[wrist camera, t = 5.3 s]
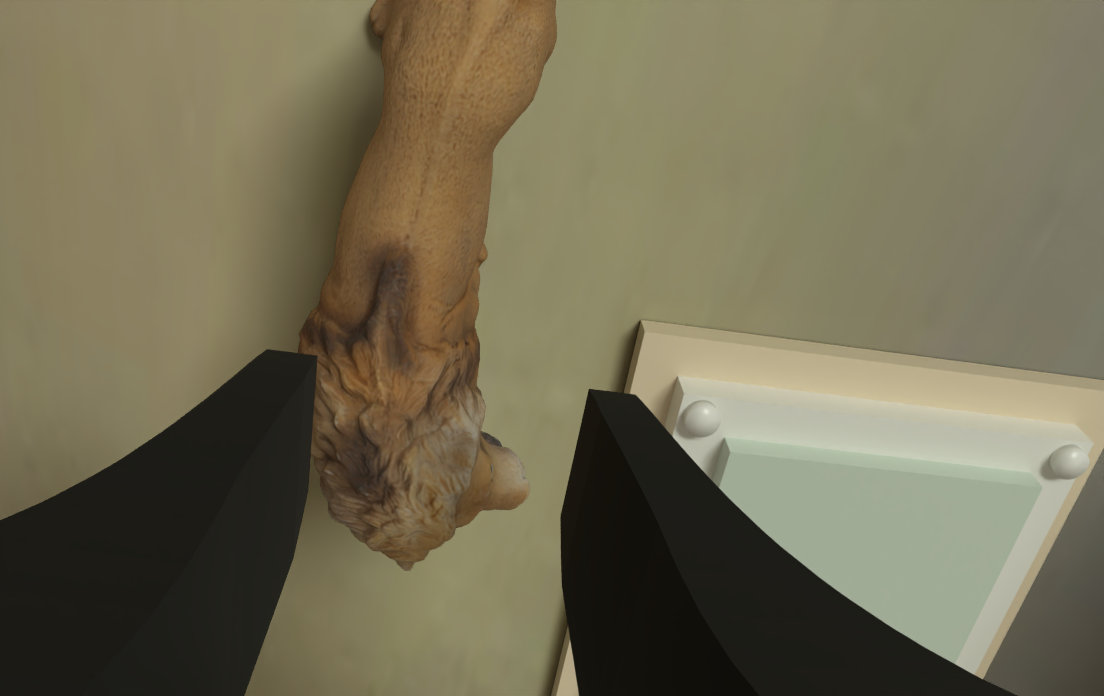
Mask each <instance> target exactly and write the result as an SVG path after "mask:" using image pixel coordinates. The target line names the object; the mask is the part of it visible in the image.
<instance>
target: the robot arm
mask: <svg viewBox="0 0 1104 696" xmlns="http://www.w3.org/2000/svg"><path fill="white" fill-rule="evenodd" d="M317 358H318V356H317V355H309V354H301V353H293V352H284V351H276V350H268V349H267V350H266V351H264V352H263V353H262V354H260V355H259V356H257V357H256V358H255V359H254V360H252V361H251V362H250V363H249V364H248V365H246V366H245V367H244V368H243V369H242V370H240V371H239V372H238V373H237V374H236V375H234V376H233V377H232V378H231V379H230V380H228V381H227V382H226V383H225V384H224V385H222V386H221V387H220V388H219V389H217V390H216V391H215V392H214V393H213V394H211V395H210V396H209V397H208V398H206V399H205V400H204V401H202V402H201V403H200V404H198V405H197V406H196V407H195V408H193V409H192V410H191V411H189V412H188V413H187V414H185V415H184V416H183V417H181V418H180V419H179V420H178V421H176V422H175V423H174V424H172V425H171V426H169V427H168V428H167V429H165V430H164V431H163V432H161V433H160V434H158V435H157V436H155V437H154V438H152V439H151V440H149V441H148V442H146V443H145V444H143V445H142V446H140V447H139V448H137V449H136V450H134V451H133V452H131V453H130V454H128V455H127V456H125V457H124V458H122V459H121V460H119V461H117V462H116V463H114V464H112V465H111V466H109V467H107V468H105V469H104V470H102V471H100V472H99V473H97V474H95V475H93V476H92V477H90V478H88V479H86V480H84V481H82V482H80V483H78V484H76V485H74V486H73V487H71V488H69V489H67V490H65V491H63V492H61V493H59V494H57V495H56V496H54V497H51V498H49V499H47V500H45V501H43V502H41V503H39V504H37V505H35V506H32V507H30V508H28V509H25V510H23V511H21V512H18V513H16V514H14V515H12V516H9V517H7V518H5V519H2V520H0V696H244V695H245V692H246V689H247V686H248V684H249V681H250V678H251V675H252V672H253V670H254V667H255V664H256V661H257V659H258V656H259V653H260V650H261V647H262V645H263V642H264V639H265V636H266V634H267V631H268V628H269V625H270V622H271V620H272V617H273V614H274V611H275V609H276V606H277V603H278V600H279V597H280V594H281V592H282V589H283V586H284V583H285V580H286V578H287V575H288V572H289V569H290V566H291V563H292V560H293V557H294V552H295V548H296V544H297V539H298V535H299V530H300V526H301V521H302V517H303V512H304V507H305V503H306V498H307V493H308V485H309V471H310V457H311V443H312V428H313V414H314V400H315V386H316V372H317ZM561 572H562V589H563V596H564V603H565V609H566V616H567V622H568V629H569V636H570V642H571V648H572V655H573V661H574V667H575V674H576V680H577V686H578V693H579V696H1017V695H1015V694H1013V693H1010V692H1008V691H1006V690H1004V689H1002V688H1000V687H998V686H996V685H993V684H991V683H989V682H987V681H985V680H983V679H981V678H980V677H978V676H976V675H974V674H972V673H970V672H968V671H967V670H965V669H963V668H961V667H959V666H958V665H956V664H954V663H952V662H950V661H949V660H947V659H945V658H943V657H941V656H940V655H938V654H936V653H934V652H932V651H930V650H929V649H927V648H925V647H923V646H922V645H920V644H918V643H917V642H915V641H913V640H912V639H910V638H909V637H907V636H905V635H904V634H902V633H900V632H899V631H897V630H895V629H894V628H892V627H890V626H889V625H887V624H886V623H884V622H883V621H881V620H880V619H878V618H877V617H875V616H874V615H872V614H871V613H869V612H868V611H866V610H865V609H863V608H862V607H860V606H859V605H857V604H856V603H854V602H853V601H851V600H850V599H848V598H847V597H846V596H844V595H843V594H841V593H840V592H839V591H837V590H836V589H834V588H833V587H832V586H830V585H829V584H828V583H826V582H825V581H824V580H822V579H821V578H820V577H818V576H817V575H816V574H815V573H813V572H812V571H811V570H810V569H808V568H807V567H806V566H805V565H803V564H802V563H801V562H800V561H798V560H797V559H796V558H795V557H793V556H792V555H791V554H790V553H788V552H787V551H786V550H785V549H783V548H782V547H781V546H780V545H779V544H778V543H776V542H775V541H774V540H773V539H772V538H771V537H769V536H768V535H767V534H766V533H765V532H764V531H763V530H762V529H761V528H760V527H759V526H757V525H756V524H755V523H754V522H753V521H752V520H751V519H750V518H749V517H748V516H747V515H746V514H745V513H744V512H743V511H742V510H741V509H740V508H739V507H738V506H736V505H735V504H734V503H733V502H732V501H731V500H730V499H729V498H728V497H727V496H726V495H725V494H724V492H723V491H722V490H721V489H720V488H719V487H718V486H717V485H716V484H715V483H714V482H713V481H712V480H711V479H710V478H709V477H708V476H707V475H706V474H705V473H704V471H703V470H702V469H701V468H700V467H699V466H698V465H697V464H696V463H695V462H694V460H693V459H692V458H691V457H690V456H689V455H688V454H687V453H686V451H685V450H684V449H683V448H682V447H681V446H680V445H679V443H678V442H677V441H676V440H675V439H674V438H673V436H672V435H671V434H670V433H669V432H668V431H667V430H666V428H665V427H664V426H663V425H662V424H661V422H660V421H659V420H658V419H657V418H656V417H655V415H654V414H653V413H652V412H651V411H650V410H649V409H648V407H647V406H646V405H645V404H644V403H643V402H642V401H641V400H640V399H639V398H638V396H637V395H634V394H626V393H618V392H610V391H602V390H594V389H589V391H588V396H587V400H586V405H585V409H584V414H583V418H582V423H581V427H580V432H579V436H578V441H577V445H576V450H575V454H574V459H573V463H572V468H571V472H570V477H569V481H568V486H567V490H566V495H565V499H564V504H563V508H562V513H561Z"/></svg>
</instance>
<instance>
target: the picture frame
mask: <svg viewBox="0 0 1104 696" xmlns="http://www.w3.org/2000/svg"><path fill="white" fill-rule="evenodd" d="M624 393H626V394H634V395H637V396H638V398H639V399H640V400H641V401H642V402H643V403H644V404H645V405H646V406H647V407H648V409H649V410H650V411H651V412H652V413H653V414H654V415H655V417H656V418H657V419H658V420H659V421H660V422H661V424H662V425H663V426H664V427H665V428H666V430H667V431H668V432H669V433H670V434H671V435H672V436H673V438H674V439H675V440H676V441H677V442H678V443H679V445H680V446H681V447H682V448H683V449H684V450H685V451H686V453H687V454H688V455H689V456H690V457H691V458H692V459H693V460H694V462H695V463H696V464H697V465H698V466H699V467H700V468H701V469H702V470H703V471H704V473H705V474H706V475H707V476H708V477H709V478H710V479H711V480H712V481H713V482H714V483H715V484H716V485H717V486H718V487H719V488H720V489H721V490H722V491H723V492H724V494H725V495H726V496H727V497H728V498H729V499H730V500H731V501H732V502H733V503H734V504H735V505H736V506H738V507H739V508H740V509H741V510H742V511H743V512H744V513H745V514H746V515H747V516H748V517H749V518H750V519H751V520H752V521H753V522H754V523H755V524H756V525H757V526H759V527H760V528H761V529H762V530H763V531H764V532H765V533H766V534H767V535H768V536H769V537H771V538H772V539H773V540H774V541H775V542H776V543H778V544H779V545H780V546H781V547H782V548H783V549H785V550H786V551H787V552H788V553H790V554H791V555H792V556H793V557H795V558H796V559H797V560H798V561H800V562H801V563H802V564H803V565H805V566H806V567H807V568H808V569H810V570H811V571H812V572H813V573H815V574H816V575H817V576H818V577H820V578H821V579H822V580H824V581H825V582H826V583H828V584H829V585H830V586H832V587H833V588H834V589H836V590H837V591H839V592H840V593H841V594H843V595H844V596H846V597H847V598H848V599H850V600H851V601H853V602H854V603H856V604H857V605H859V606H860V607H862V608H863V609H865V610H866V611H868V612H869V613H871V614H872V615H874V616H875V617H877V618H878V619H880V620H881V621H883V622H884V623H886V624H887V625H889V626H890V627H892V628H894V629H895V630H897V631H899V632H900V633H902V634H904V635H905V636H907V637H909V638H910V639H912V640H913V641H915V642H917V643H918V644H920V645H922V646H923V647H925V648H927V649H929V650H930V651H932V652H934V653H936V654H938V655H940V656H941V657H943V658H945V659H947V660H949V661H950V662H952V663H954V664H956V665H958V666H959V667H961V668H963V669H965V670H967V671H968V672H970V673H972V674H974V675H976V676H978V677H980V678H981V679H983V678H984V676H985V674H986V672H987V670H988V668H989V666H990V664H991V662H992V660H993V658H994V657H995V655H996V653H997V651H998V649H999V647H1000V645H1001V643H1002V641H1003V639H1004V637H1005V635H1006V634H1007V632H1008V630H1009V628H1010V626H1011V624H1012V622H1013V620H1014V618H1015V616H1016V614H1017V613H1018V611H1019V609H1020V607H1021V605H1022V603H1023V601H1024V599H1025V597H1026V595H1027V593H1028V591H1029V590H1030V588H1031V586H1032V584H1033V582H1034V580H1035V578H1036V576H1037V574H1038V572H1039V570H1040V569H1041V567H1042V565H1043V563H1044V561H1045V559H1046V557H1047V555H1048V553H1049V551H1050V549H1051V547H1052V546H1053V544H1054V542H1055V540H1056V538H1057V536H1058V534H1059V532H1060V530H1061V528H1062V526H1063V524H1064V523H1065V521H1066V519H1067V517H1068V515H1069V513H1070V511H1071V509H1072V507H1073V505H1074V503H1075V502H1076V500H1077V498H1078V496H1079V494H1080V492H1081V490H1082V488H1083V486H1084V484H1085V482H1086V480H1087V479H1088V477H1089V475H1090V473H1091V471H1092V469H1093V467H1094V465H1095V463H1096V461H1097V459H1098V458H1099V456H1100V454H1101V452H1102V450H1103V448H1104V380H1098V379H1090V378H1083V377H1075V376H1067V375H1060V374H1052V373H1044V372H1037V371H1029V370H1021V369H1014V368H1006V367H998V366H991V365H983V364H975V363H968V362H960V361H952V360H945V359H937V358H929V357H922V356H914V355H906V354H899V353H891V352H883V351H876V350H868V349H860V348H853V347H845V346H837V345H830V344H822V343H814V342H807V341H799V340H791V339H784V338H776V337H768V336H761V335H753V334H745V333H738V332H730V331H722V330H715V329H707V328H699V327H692V326H684V325H676V324H669V323H661V322H653V321H646V320H641V322H640V327H639V331H638V335H637V339H636V343H635V347H634V352H633V356H632V360H631V364H630V368H629V372H628V377H627V381H626V385H625V389H624ZM551 696H579V693H578V686H577V680H576V674H575V667H574V661H573V655H572V648H571V642H570V636H569V629H568V627H567V631H566V635H565V639H564V644H563V648H562V652H561V656H560V660H559V665H558V669H557V673H556V677H555V681H554V685H553V690H552V694H551Z"/></svg>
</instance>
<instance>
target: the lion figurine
mask: <svg viewBox="0 0 1104 696" xmlns="http://www.w3.org/2000/svg"><path fill="white" fill-rule="evenodd" d="M555 8H556V0H377V1H376V2H375V4H374V5H373V7H372V8H371V12H370V21H371V24H372V27H373V31H374V33H375V34H376V35H377V36H379V37H380V38H382V39H383V44H382V48H381V58H382V63H383V66H384V95H383V109H382V115H381V119H380V122H379V125H378V128H377V130H376V132H375V134H374V136H373V138H372V140H371V142H370V144H369V146H368V148H367V150H366V152H365V154H364V157H363V159H362V161H361V164H360V166H359V169H358V171H357V174H356V177H355V179H354V182H353V184H352V186H351V189H350V191H349V193H348V196H347V198H346V201H345V204H344V208H343V211H342V214H341V218H340V223H339V228H338V234H337V241H336V248H335V261H334V267H333V268H332V269H331V271H330V272H329V274H328V277H327V279H326V280H325V282H324V284H323V287H322V290H321V297H320V302H319V305H318V306H317V307H316V308H315V309H313V310H312V311H311V313H310V315H309V316H308V318H307V320H306V322H305V324H304V326H303V328H302V329H301V331H300V333H299V335H300V343H299V348H298V353H301V354H309V355H317V356H318V358H317V372H316V386H315V400H314V414H313V428H312V443H311V454H312V456H313V457H314V463H315V467H316V469H317V471H318V473H319V474H320V475H321V477H320V487H321V490H322V492H323V495H324V496H325V497H326V499H327V501H328V512H329V515H330V517H331V518H332V519H333V520H334V521H336V522H339V523H342V524H344V525H346V526H347V527H348V528H350V531H351V532H352V534H353V535H354V536H355V537H356V538H357V539H358V540H359V541H361V542H364V543H366V545H367V546H368V547H369V548H370V549H371V550H373V551H380V552H382V553H383V554H385V555H386V556H388V557H389V558H391V559H393V560H395V561H396V562H397V564H398V565H399V566H400V567H401V568H402V569H404V570H405V571H410V570H411V569H412V567H413V565H414V563H415V562H419V561H422V560H424V559H425V557H426V556H427V555H428V553H429V550H433V549H436V548H438V547H440V546H441V545H442V544H443V543H444V542H445V541H448V540H450V539H451V538H452V537H453V535H454V533H455V529H456V528H458V527H462V526H464V525H467V524H469V523H470V522H471V521H472V520H473V519H474V518H475V517H476V516H477V514H478V513H479V512H480V511H482V510H494V509H496V510H512V509H514V508H516V507H518V506H519V505H520V504H522V503H523V502H524V501H525V500H526V499H527V498H528V496H529V493H530V485H529V482H528V480H527V479H526V478H525V472H524V466H523V463H522V461H521V460H520V458H519V457H518V455H517V454H516V453H514V452H513V451H512V450H510V449H509V448H506V447H502V445H501V443H500V441H499V440H498V439H496V438H495V437H492V436H491V435H489V434H488V433H485V432H482V431H481V428H482V424H483V421H484V416H485V408H486V405H485V403H484V400H483V398H482V395H481V391H480V390H479V388H478V387H477V376H478V368H479V361H480V343H479V339H478V336H477V333H476V330H475V320H476V317H477V313H478V310H479V300H478V291H479V284H480V274H479V270H478V268H479V266H480V265H481V263H482V262H484V261H485V260H486V259H487V256H488V254H487V250H486V247H485V244H484V243H483V241H484V237H485V232H486V228H487V220H488V211H489V201H490V191H491V181H492V168H493V151H494V149H495V147H496V145H497V144H498V142H499V141H500V139H501V138H502V137H503V136H504V135H505V133H506V132H507V131H508V130H509V128H510V127H511V126H512V125H513V123H514V122H515V121H516V120H517V119H518V118H519V116H520V115H521V114H522V113H523V112H524V111H525V110H526V109H527V107H528V106H529V105H530V103H531V102H532V101H533V99H534V96H535V94H536V91H537V89H538V85H539V82H540V79H541V76H542V72H543V68H544V65H545V63H546V62H547V60H548V59H549V57H550V56H551V54H552V52H553V49H554V47H555V43H556V37H557V24H556V16H555Z"/></svg>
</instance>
